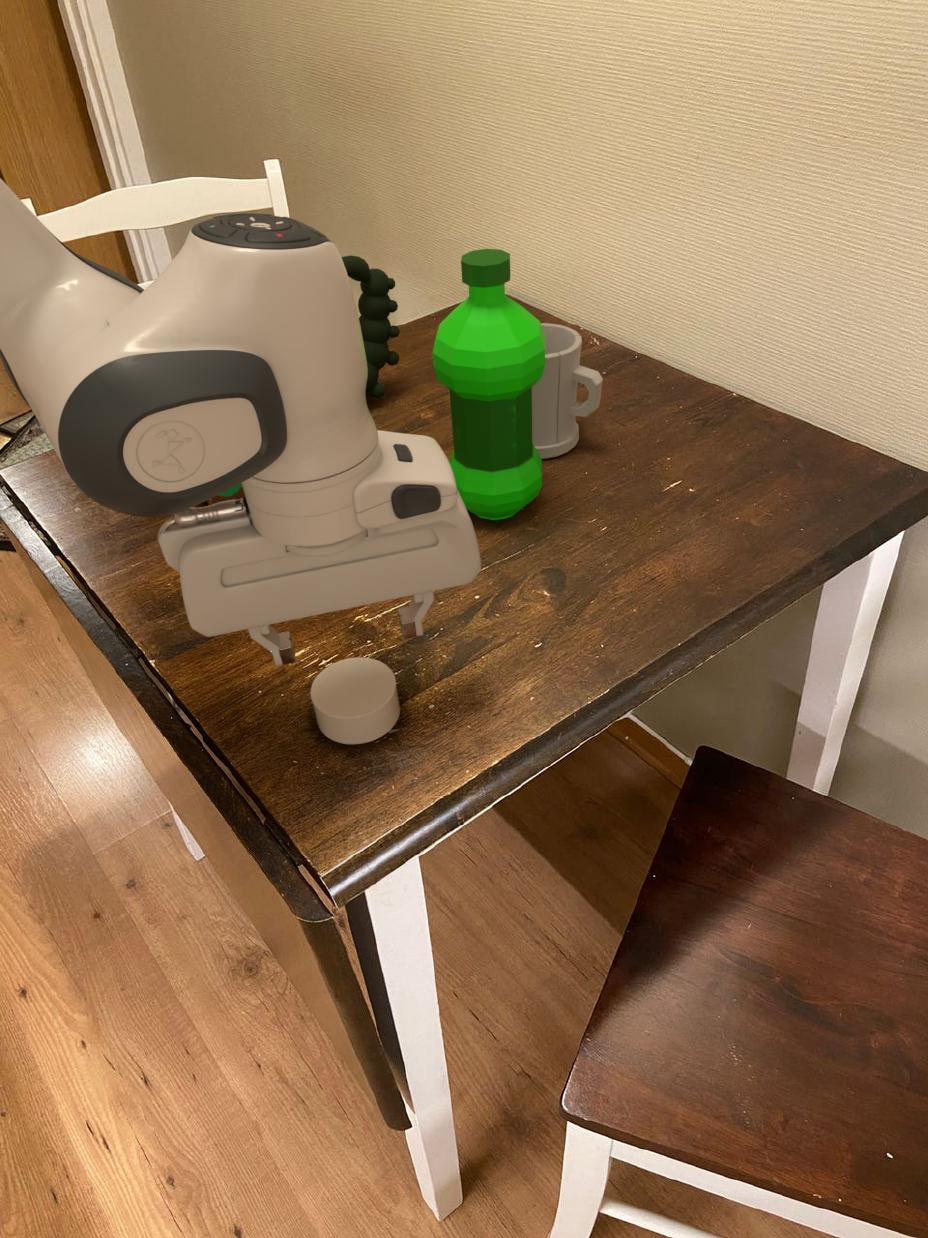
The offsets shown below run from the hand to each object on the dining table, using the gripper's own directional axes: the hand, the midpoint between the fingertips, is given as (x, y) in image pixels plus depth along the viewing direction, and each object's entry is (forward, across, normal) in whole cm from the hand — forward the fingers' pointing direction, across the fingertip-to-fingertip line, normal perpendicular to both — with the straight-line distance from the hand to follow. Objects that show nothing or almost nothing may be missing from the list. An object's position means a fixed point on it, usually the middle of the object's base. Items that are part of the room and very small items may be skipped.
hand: (349, 645), depth 65 cm
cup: (+8, +26, +36) cm, 45 cm away
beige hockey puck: (+7, 0, 0) cm, 7 cm away
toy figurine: (+8, +2, +50) cm, 50 cm away
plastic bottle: (+8, +18, +25) cm, 32 cm away
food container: (+7, -10, +34) cm, 36 cm away
